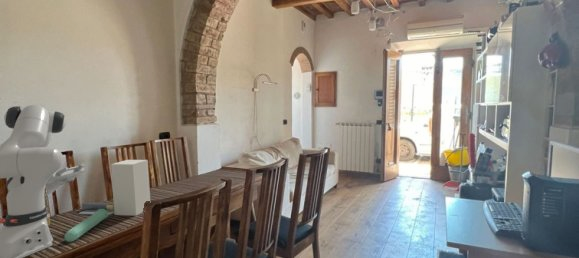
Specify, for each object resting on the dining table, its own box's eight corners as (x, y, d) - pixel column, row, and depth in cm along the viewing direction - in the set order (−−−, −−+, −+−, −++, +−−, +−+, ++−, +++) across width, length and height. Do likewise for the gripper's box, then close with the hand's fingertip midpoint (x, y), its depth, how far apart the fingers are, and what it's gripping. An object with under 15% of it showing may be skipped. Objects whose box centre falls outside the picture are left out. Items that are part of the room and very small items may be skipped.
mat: (109, 215, 151) (109, 214, 151) (78, 214, 153) (78, 213, 153) (128, 206, 165) (128, 205, 165) (99, 205, 167) (99, 204, 167)
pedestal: (136, 215, 150) (132, 164, 148) (114, 214, 151) (110, 164, 149) (150, 207, 162) (147, 159, 159) (130, 206, 163) (127, 159, 161)
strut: (115, 211, 156) (114, 205, 155) (81, 209, 159) (81, 204, 158) (120, 208, 159) (120, 202, 159) (87, 207, 163) (87, 201, 162)
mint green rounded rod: (72, 228, 121) (104, 206, 145) (58, 234, 120) (93, 211, 145) (79, 240, 121) (110, 217, 146) (65, 247, 121) (99, 222, 146)
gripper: (34, 179, 151) (54, 165, 149) (69, 170, 172) (87, 158, 169) (40, 189, 151) (60, 176, 149) (75, 180, 171) (93, 168, 169)
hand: (75, 166), depth 159 cm, fingers open, 8 cm apart
